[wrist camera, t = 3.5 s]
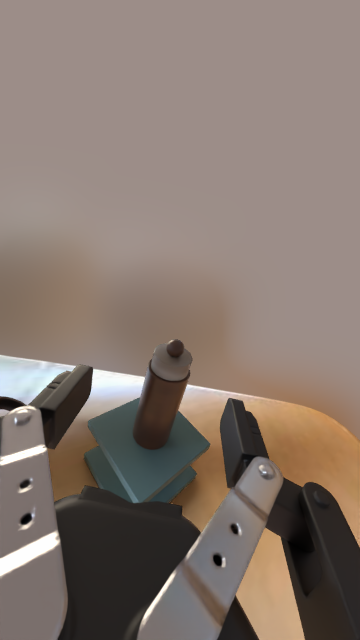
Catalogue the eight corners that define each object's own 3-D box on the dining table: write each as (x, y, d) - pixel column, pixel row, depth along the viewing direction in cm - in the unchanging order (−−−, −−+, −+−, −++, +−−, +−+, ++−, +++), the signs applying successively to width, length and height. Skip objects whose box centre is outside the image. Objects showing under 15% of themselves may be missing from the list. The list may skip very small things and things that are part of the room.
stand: (83, 458, 33) (88, 420, 30) (148, 421, 42) (157, 389, 39) (127, 542, 26) (139, 504, 23) (195, 478, 35) (210, 443, 32)
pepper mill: (125, 427, 31) (145, 333, 24) (154, 412, 34) (178, 326, 28) (147, 457, 28) (176, 359, 22) (176, 437, 31) (208, 347, 25)
